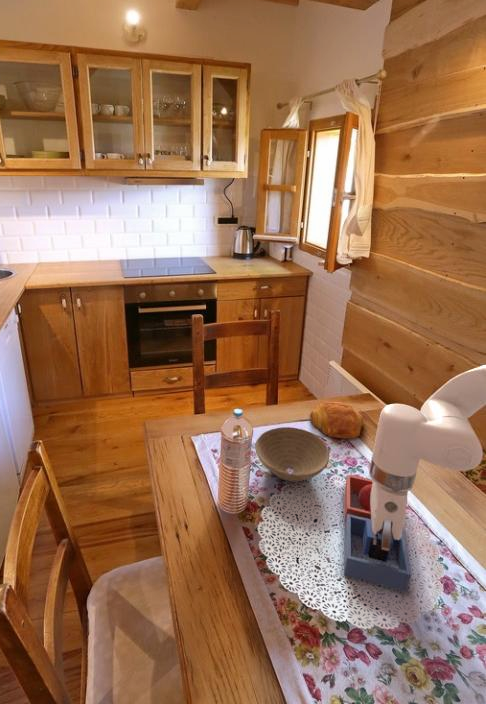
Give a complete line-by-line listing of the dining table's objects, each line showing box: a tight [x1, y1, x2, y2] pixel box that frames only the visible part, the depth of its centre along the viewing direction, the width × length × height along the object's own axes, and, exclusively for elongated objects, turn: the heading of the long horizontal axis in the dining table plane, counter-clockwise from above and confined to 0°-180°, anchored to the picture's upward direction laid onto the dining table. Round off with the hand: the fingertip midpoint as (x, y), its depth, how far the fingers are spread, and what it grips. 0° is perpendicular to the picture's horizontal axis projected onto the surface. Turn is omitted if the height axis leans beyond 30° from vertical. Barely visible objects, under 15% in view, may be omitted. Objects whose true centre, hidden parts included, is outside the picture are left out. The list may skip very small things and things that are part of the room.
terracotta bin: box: [343, 474, 373, 524], centre depth 91 cm, size 11×11×5 cm
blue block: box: [362, 519, 394, 561], centre depth 78 cm, size 4×4×4 cm
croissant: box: [309, 401, 364, 439], centre depth 122 cm, size 14×16×8 cm
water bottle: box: [217, 408, 254, 515], centre depth 88 cm, size 7×7×25 cm
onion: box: [358, 484, 372, 512], centre depth 90 cm, size 6×6×8 cm
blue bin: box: [343, 514, 412, 593], centre depth 79 cm, size 11×11×5 cm
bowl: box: [254, 426, 330, 483], centre depth 102 cm, size 18×18×8 cm
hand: (376, 546), depth 79 cm, fingers closed on blue block, 4 cm apart
